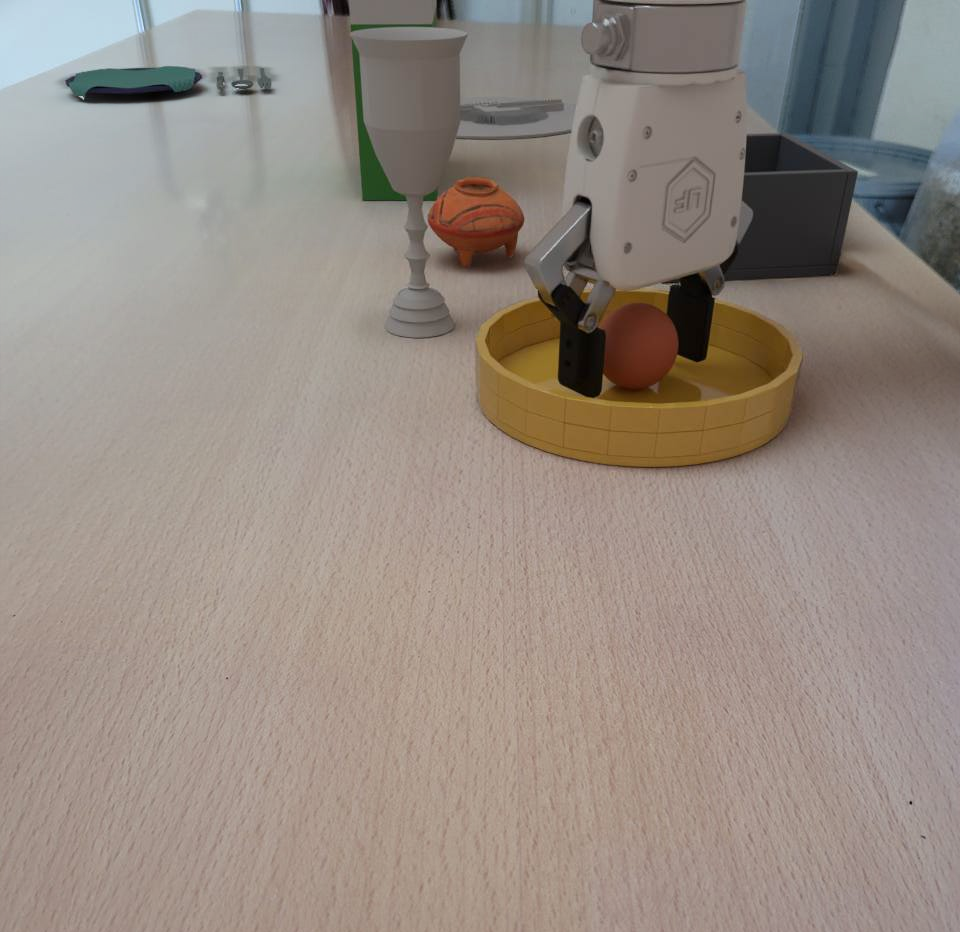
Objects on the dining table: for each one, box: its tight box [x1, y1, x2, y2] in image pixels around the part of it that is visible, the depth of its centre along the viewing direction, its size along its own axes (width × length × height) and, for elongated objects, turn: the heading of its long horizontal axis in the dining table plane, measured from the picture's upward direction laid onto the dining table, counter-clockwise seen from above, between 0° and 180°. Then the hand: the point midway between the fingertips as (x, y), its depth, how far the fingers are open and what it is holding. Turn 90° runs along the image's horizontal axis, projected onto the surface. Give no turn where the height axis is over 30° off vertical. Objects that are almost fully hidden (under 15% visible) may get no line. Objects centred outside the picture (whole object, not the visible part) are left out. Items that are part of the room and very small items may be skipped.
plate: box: [456, 96, 576, 140], centre depth 134 cm, size 28×28×1 cm
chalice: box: [349, 27, 469, 339], centre depth 66 cm, size 7×7×18 cm
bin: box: [662, 132, 859, 284], centre depth 83 cm, size 15×15×8 cm
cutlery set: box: [64, 65, 273, 98], centre depth 151 cm, size 20×30×2 cm, turn 102°
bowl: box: [474, 288, 804, 468], centre depth 61 cm, size 19×19×4 cm
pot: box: [427, 176, 525, 268], centre depth 83 cm, size 8×8×7 cm
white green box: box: [348, 0, 439, 201], centre depth 99 cm, size 18×7×24 cm, turn 1°
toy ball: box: [599, 303, 678, 389], centre depth 60 cm, size 5×5×5 cm
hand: (633, 371), depth 61 cm, fingers open, 8 cm apart
